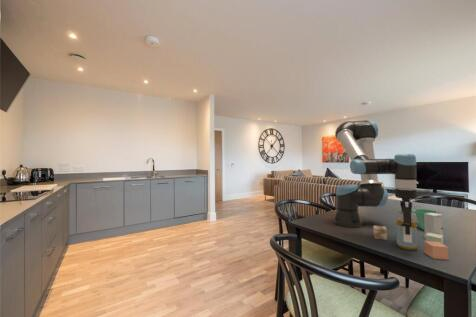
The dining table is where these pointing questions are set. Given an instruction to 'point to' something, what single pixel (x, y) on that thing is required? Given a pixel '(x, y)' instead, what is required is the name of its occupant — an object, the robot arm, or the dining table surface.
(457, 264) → the dining table surface
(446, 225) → the dining table surface
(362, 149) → the robot arm
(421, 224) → the mug
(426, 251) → the terracotta cube
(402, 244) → the bottle
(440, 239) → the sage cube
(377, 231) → the maple cube
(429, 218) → the skincare box
